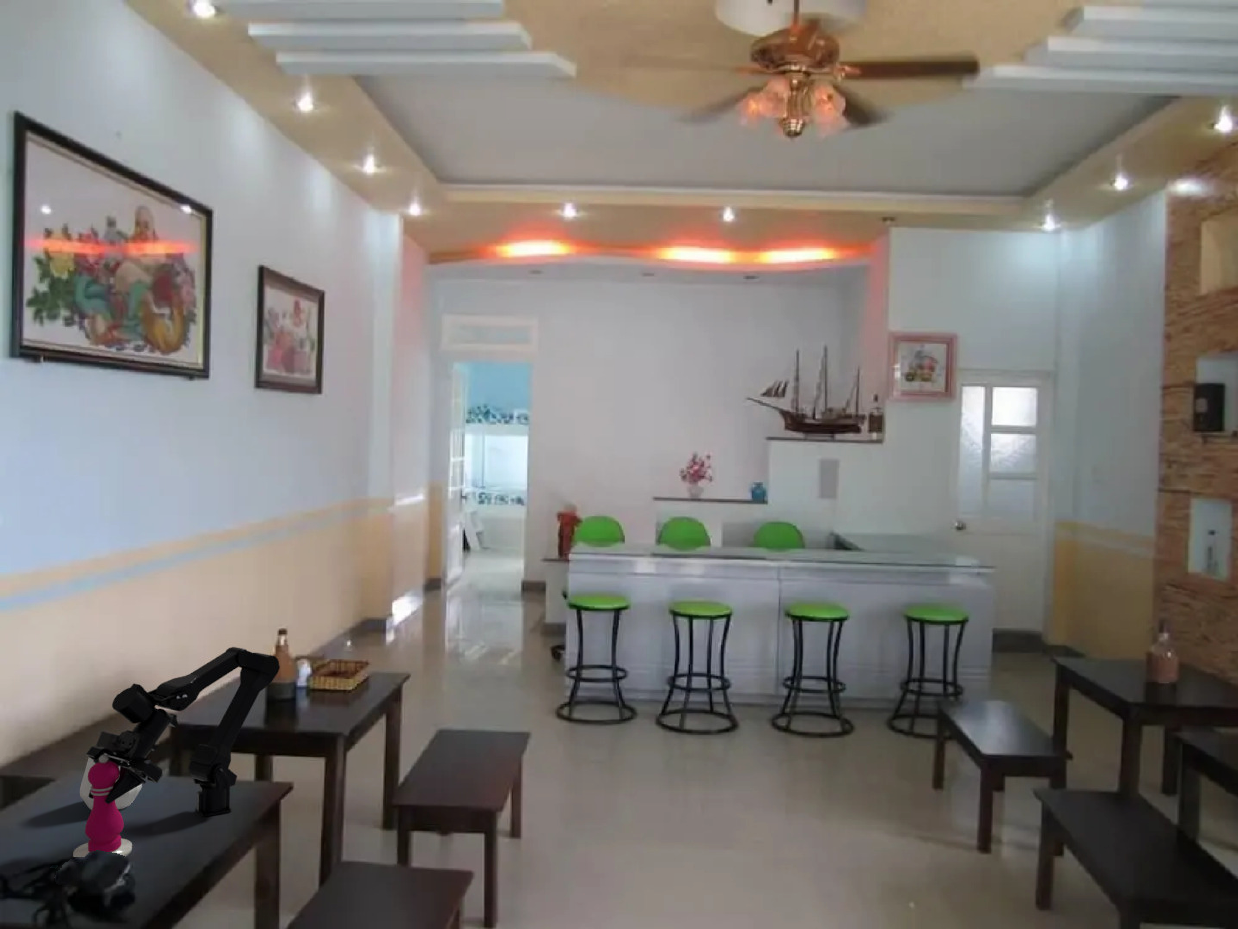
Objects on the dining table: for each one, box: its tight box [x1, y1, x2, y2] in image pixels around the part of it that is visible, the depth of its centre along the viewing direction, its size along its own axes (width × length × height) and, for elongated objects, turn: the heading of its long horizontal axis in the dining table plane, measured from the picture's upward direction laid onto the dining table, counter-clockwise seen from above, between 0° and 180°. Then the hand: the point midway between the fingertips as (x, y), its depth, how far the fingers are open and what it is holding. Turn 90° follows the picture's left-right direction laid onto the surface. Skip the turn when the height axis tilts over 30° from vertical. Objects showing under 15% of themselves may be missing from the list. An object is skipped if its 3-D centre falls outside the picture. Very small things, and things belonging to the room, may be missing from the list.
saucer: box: [72, 837, 133, 858], centre depth 206 cm, size 11×11×1 cm
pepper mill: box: [84, 755, 125, 852], centre depth 206 cm, size 7×7×20 cm
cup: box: [79, 753, 143, 811], centre depth 233 cm, size 13×13×14 cm
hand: (98, 800), depth 205 cm, fingers open, 5 cm apart
